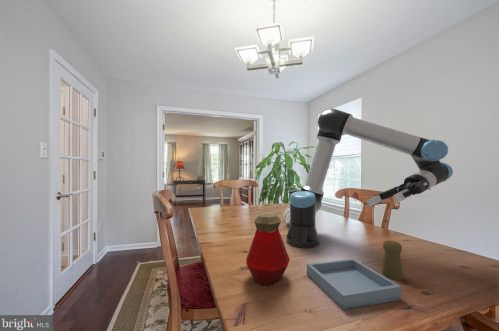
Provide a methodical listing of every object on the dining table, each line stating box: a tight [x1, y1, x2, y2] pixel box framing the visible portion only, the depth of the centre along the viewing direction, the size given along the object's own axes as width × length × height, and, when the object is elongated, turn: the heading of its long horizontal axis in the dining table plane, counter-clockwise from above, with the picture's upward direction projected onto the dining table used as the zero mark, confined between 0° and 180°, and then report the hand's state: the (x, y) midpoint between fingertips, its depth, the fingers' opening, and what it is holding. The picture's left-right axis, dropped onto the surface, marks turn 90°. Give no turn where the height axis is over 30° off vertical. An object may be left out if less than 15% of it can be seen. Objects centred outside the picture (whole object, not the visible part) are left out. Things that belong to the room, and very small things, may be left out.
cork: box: [381, 240, 404, 281], centre depth 70 cm, size 6×6×11 cm
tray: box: [306, 258, 402, 311], centre depth 63 cm, size 18×18×4 cm
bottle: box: [245, 212, 291, 287], centre depth 68 cm, size 16×14×20 cm
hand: (380, 201), depth 80 cm, fingers open, 13 cm apart
